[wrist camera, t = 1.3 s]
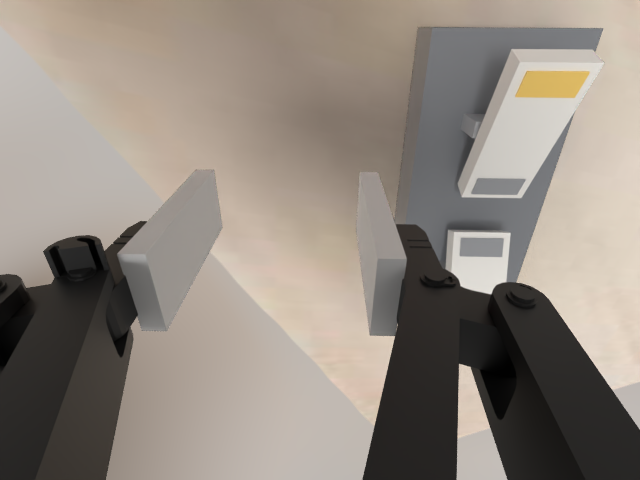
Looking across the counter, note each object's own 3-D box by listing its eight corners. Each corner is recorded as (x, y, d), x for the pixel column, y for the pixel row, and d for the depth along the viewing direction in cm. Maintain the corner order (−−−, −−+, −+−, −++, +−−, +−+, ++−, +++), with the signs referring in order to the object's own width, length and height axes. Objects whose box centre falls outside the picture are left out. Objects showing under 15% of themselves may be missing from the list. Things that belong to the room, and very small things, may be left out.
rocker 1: (448, 229, 33) (454, 232, 31) (501, 230, 33) (511, 232, 31) (440, 345, 34) (446, 354, 33) (491, 346, 34) (500, 355, 33)
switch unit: (418, 27, 30) (443, 27, 24) (568, 28, 30) (638, 28, 23) (386, 286, 44) (396, 333, 37) (490, 288, 44) (519, 336, 37)
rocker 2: (511, 49, 22) (520, 63, 21) (592, 49, 22) (605, 63, 21) (457, 183, 31) (461, 198, 30) (515, 184, 30) (521, 199, 29)
